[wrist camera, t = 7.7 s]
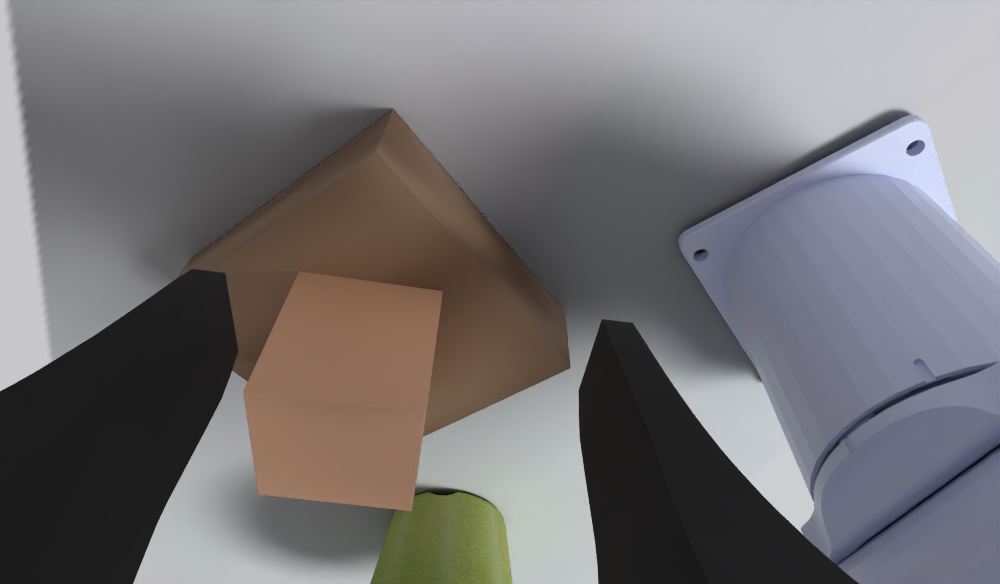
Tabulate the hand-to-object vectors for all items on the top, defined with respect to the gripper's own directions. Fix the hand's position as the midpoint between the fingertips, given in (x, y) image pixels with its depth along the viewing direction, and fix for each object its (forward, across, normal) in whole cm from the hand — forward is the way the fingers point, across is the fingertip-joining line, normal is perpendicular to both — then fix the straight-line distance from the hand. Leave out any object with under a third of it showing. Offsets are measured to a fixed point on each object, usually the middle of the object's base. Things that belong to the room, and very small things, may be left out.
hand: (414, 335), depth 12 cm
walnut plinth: (+9, +2, +6) cm, 12 cm away
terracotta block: (+6, +2, +6) cm, 9 cm away
